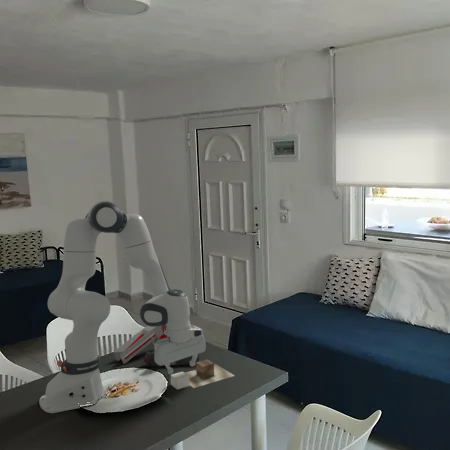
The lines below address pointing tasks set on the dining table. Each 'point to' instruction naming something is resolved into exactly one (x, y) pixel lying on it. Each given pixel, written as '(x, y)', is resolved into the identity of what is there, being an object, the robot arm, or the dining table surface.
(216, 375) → the beige rectangular board
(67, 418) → the dining table surface
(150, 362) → the laser sight
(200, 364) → the walnut block
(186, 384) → the cream block
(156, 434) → the dining table surface
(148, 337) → the toy gun
